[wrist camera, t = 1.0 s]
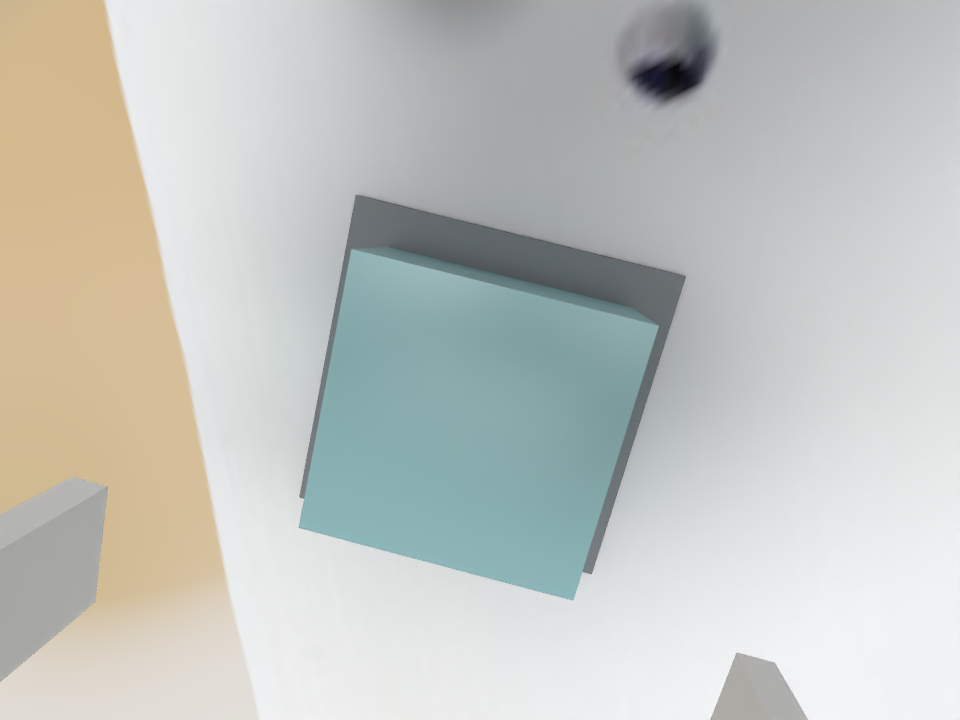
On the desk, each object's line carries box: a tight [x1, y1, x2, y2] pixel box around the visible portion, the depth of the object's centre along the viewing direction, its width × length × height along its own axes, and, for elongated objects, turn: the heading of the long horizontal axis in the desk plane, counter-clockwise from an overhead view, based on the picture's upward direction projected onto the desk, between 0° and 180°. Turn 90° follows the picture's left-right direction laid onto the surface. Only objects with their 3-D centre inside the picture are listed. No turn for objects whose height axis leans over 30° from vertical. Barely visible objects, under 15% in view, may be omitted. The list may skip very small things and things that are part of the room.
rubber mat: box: [300, 195, 686, 574], centre depth 30 cm, size 16×16×1 cm
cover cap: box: [299, 247, 659, 600], centre depth 26 cm, size 12×12×6 cm
